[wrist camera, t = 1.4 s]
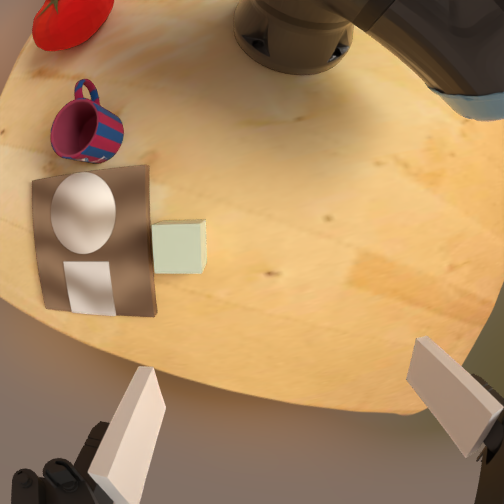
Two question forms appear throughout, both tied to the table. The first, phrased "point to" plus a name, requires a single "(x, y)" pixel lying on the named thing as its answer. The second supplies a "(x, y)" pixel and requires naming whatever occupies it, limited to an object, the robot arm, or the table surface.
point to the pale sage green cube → (179, 246)
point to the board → (95, 242)
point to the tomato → (68, 22)
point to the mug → (86, 128)
